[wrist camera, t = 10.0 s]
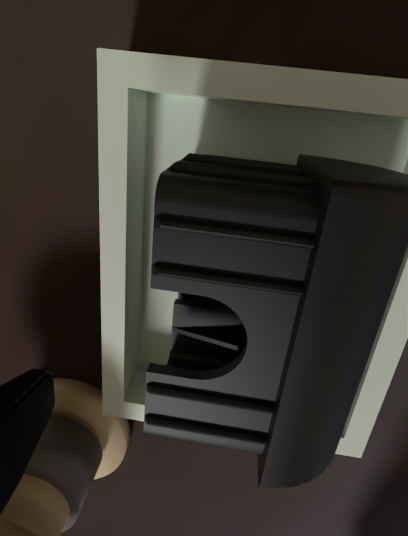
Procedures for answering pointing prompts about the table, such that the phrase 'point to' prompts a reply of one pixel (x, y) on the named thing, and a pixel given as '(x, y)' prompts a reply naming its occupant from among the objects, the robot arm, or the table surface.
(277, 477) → the end cap
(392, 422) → the table surface
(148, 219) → the tray
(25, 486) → the bobbin
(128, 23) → the table surface
